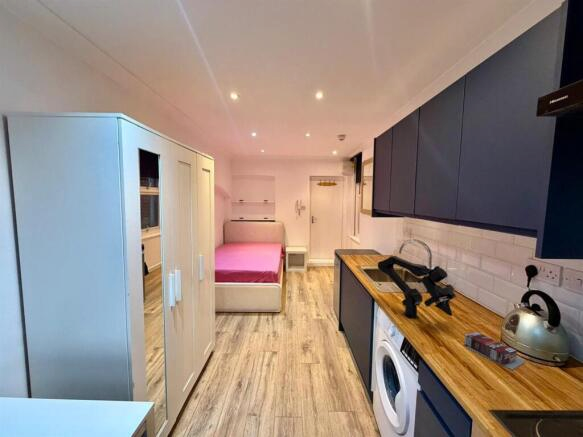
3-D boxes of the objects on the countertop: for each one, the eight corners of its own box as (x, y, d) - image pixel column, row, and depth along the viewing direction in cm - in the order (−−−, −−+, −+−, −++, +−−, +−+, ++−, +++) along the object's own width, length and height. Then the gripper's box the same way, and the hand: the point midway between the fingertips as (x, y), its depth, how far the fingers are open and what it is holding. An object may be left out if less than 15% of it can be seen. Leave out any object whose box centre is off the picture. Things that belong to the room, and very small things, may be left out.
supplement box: (477, 331, 119) (517, 350, 104) (476, 340, 119) (516, 361, 105) (464, 334, 116) (504, 354, 101) (463, 344, 116) (503, 365, 102)
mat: (465, 347, 114) (465, 347, 114) (480, 341, 120) (480, 340, 120) (512, 370, 99) (512, 369, 99) (526, 362, 105) (526, 361, 105)
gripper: (431, 281, 125) (453, 312, 116) (453, 277, 133) (475, 305, 124) (416, 292, 132) (435, 321, 123) (438, 287, 141) (457, 314, 132)
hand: (451, 315), depth 125 cm, fingers closed
